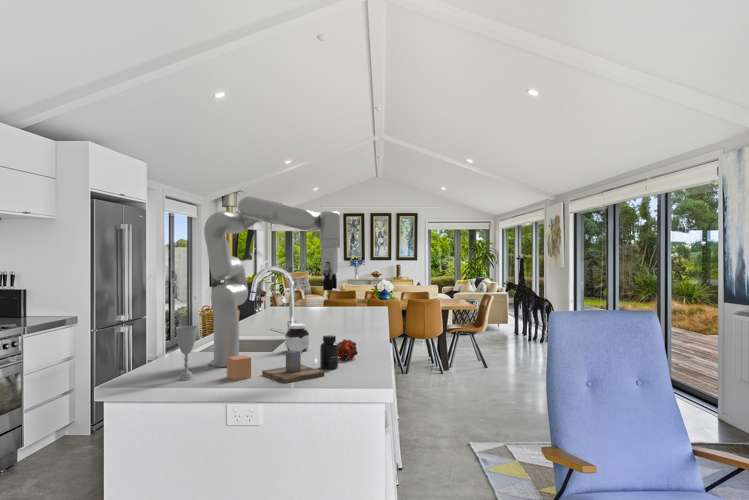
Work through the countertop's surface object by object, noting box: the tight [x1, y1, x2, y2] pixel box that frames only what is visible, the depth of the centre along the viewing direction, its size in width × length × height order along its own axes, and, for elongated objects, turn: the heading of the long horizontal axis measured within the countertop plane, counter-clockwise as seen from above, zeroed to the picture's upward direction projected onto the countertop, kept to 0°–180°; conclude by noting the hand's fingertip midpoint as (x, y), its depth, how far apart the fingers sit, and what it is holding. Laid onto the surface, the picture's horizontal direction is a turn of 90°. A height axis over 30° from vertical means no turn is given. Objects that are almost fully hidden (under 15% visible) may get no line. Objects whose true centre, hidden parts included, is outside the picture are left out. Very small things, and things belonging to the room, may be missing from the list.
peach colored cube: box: [226, 354, 252, 381], centre depth 187 cm, size 6×6×7 cm
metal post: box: [285, 350, 302, 373], centre depth 190 cm, size 4×4×7 cm
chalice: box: [174, 325, 198, 381], centre depth 185 cm, size 7×7×18 cm
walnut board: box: [261, 364, 325, 384], centre depth 189 cm, size 16×16×2 cm
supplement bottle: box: [319, 335, 339, 370], centre depth 202 cm, size 7×7×12 cm
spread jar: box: [285, 323, 310, 353], centre depth 235 cm, size 12×11×12 cm
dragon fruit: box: [337, 338, 359, 361], centre depth 218 cm, size 8×8×12 cm
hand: (330, 289), depth 200 cm, fingers open, 9 cm apart
